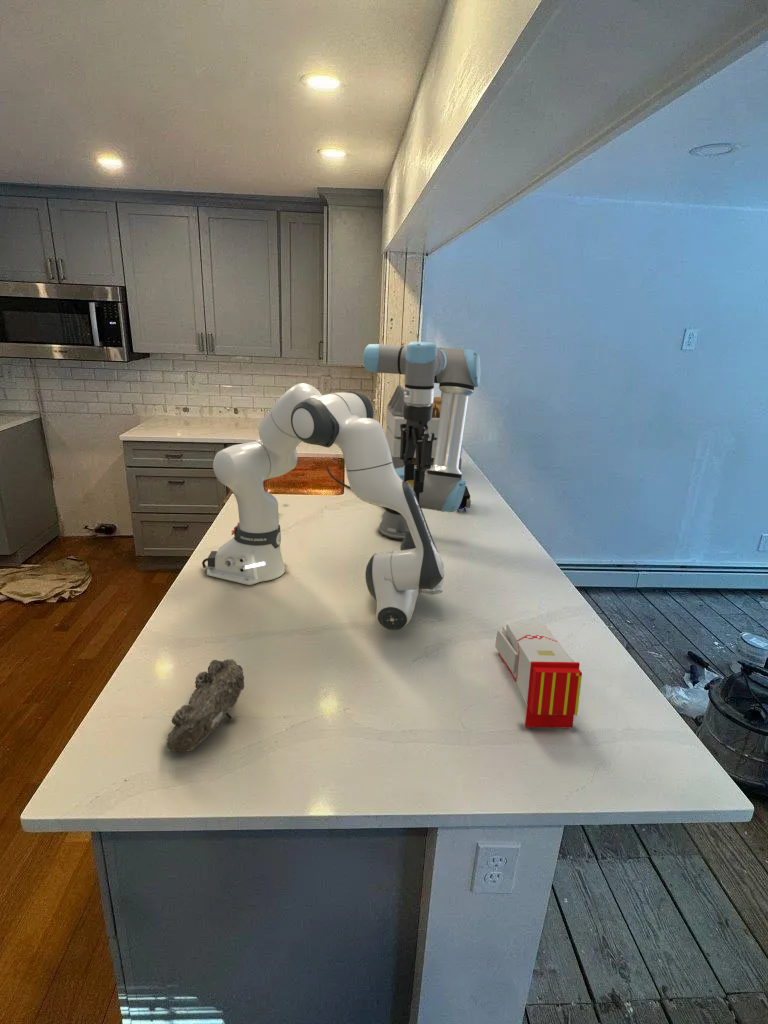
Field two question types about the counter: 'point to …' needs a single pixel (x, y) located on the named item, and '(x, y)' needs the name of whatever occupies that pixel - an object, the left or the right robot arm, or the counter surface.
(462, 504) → the figurine character
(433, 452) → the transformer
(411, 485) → the cap
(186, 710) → the fossil
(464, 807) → the counter surface
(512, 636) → the toy
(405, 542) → the bottle
